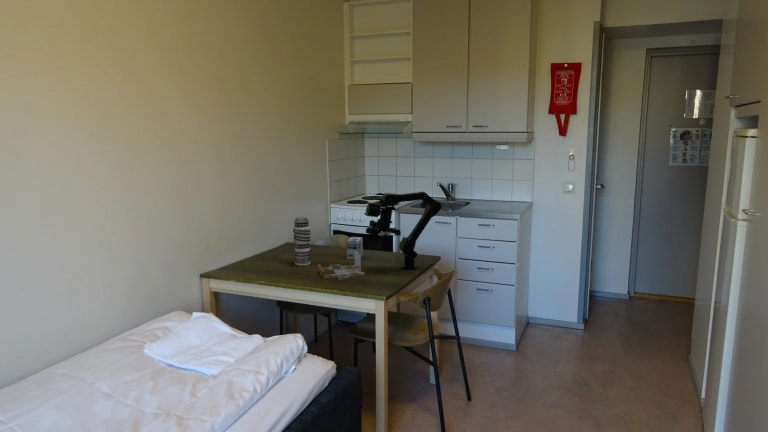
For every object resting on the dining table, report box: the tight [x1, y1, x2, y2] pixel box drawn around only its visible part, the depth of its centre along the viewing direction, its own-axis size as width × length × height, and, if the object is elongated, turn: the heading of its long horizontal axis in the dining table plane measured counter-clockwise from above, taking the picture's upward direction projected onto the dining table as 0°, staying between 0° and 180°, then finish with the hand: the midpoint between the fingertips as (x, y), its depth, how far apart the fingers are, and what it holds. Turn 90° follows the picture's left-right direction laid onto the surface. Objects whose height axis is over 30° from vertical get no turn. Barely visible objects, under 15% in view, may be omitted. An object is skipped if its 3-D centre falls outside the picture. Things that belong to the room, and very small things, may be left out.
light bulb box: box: [346, 236, 364, 260], centre depth 293 cm, size 11×7×11 cm, turn 168°
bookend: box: [333, 251, 362, 276], centre depth 263 cm, size 12×10×10 cm
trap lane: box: [317, 263, 365, 281], centre depth 262 cm, size 21×23×4 cm
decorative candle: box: [292, 216, 312, 266], centre depth 279 cm, size 9×9×25 cm
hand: (381, 248), depth 266 cm, fingers closed
